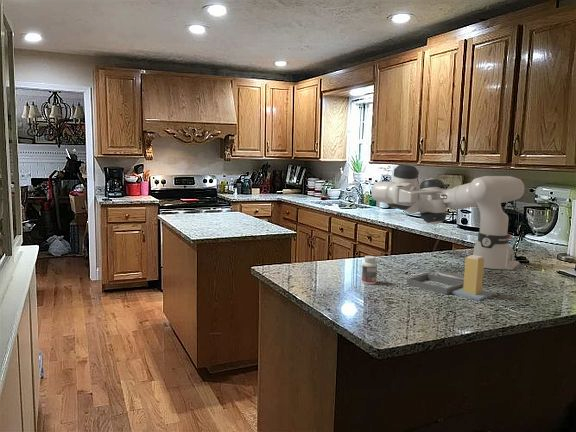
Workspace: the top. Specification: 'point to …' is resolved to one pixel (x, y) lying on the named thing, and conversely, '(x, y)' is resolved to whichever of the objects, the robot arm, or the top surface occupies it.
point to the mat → (472, 296)
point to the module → (473, 274)
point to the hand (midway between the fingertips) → (439, 197)
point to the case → (439, 277)
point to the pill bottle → (369, 270)
